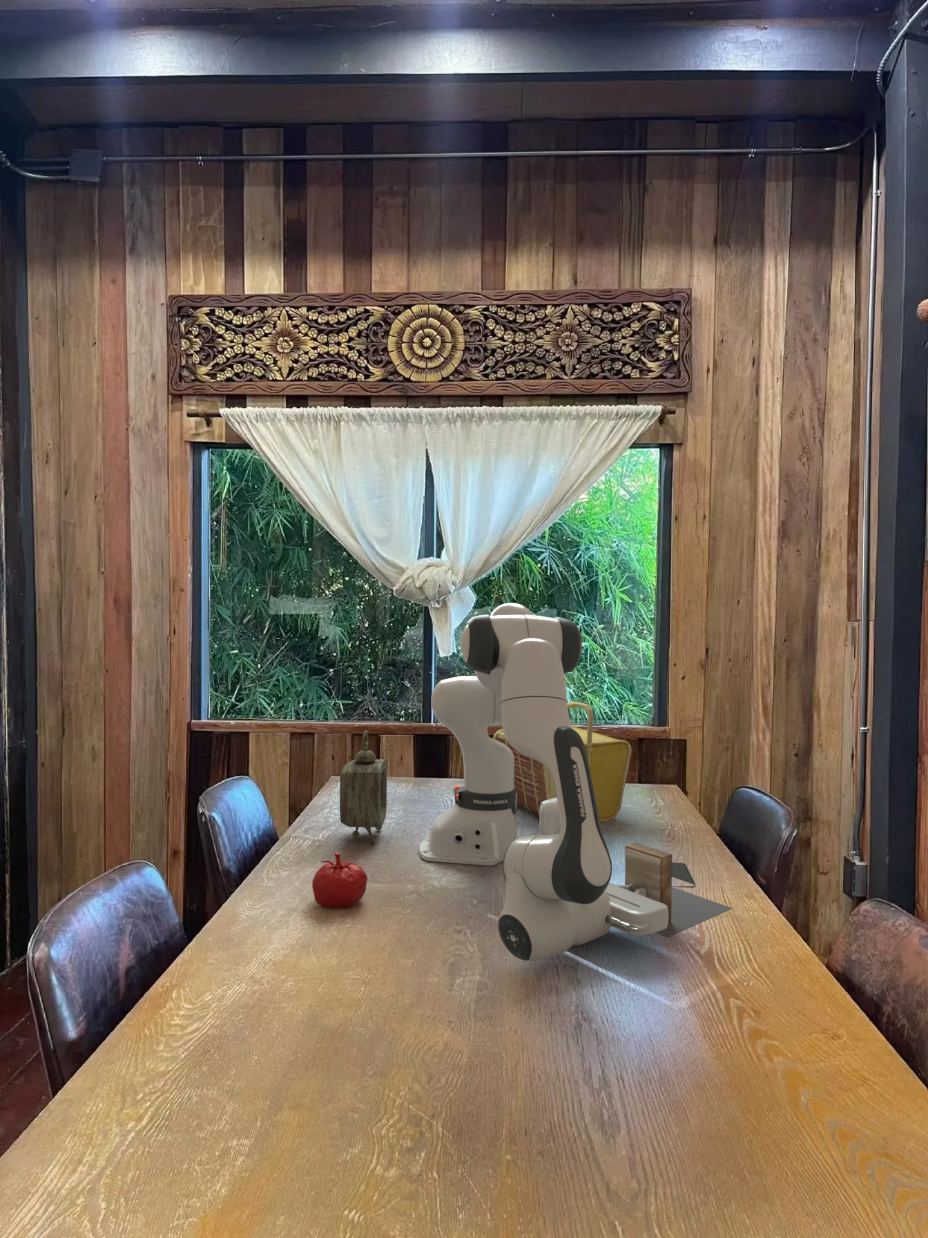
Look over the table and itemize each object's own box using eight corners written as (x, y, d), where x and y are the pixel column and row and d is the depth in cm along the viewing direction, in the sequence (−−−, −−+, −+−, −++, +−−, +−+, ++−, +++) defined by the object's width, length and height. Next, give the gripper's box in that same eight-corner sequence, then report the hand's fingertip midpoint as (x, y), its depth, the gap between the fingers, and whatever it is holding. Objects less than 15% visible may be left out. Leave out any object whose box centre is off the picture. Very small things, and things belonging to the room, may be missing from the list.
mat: (667, 940, 129) (667, 937, 129) (602, 913, 140) (602, 910, 140) (732, 911, 141) (732, 908, 141) (667, 888, 152) (667, 885, 152)
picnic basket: (490, 803, 212) (490, 693, 211) (570, 793, 223) (571, 689, 222) (545, 834, 186) (546, 708, 185) (634, 821, 197) (635, 702, 196)
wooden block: (660, 928, 133) (661, 858, 132) (623, 912, 139) (624, 845, 138) (671, 923, 134) (672, 854, 134) (634, 908, 141) (634, 842, 140)
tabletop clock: (379, 848, 175) (379, 737, 174) (339, 847, 175) (338, 736, 174) (386, 828, 190) (387, 726, 189) (349, 828, 190) (349, 725, 189)
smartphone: (685, 862, 165) (697, 888, 151) (685, 867, 165) (697, 892, 151) (650, 861, 166) (658, 886, 151) (650, 865, 166) (658, 890, 152)
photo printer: (581, 849, 175) (582, 794, 174) (587, 856, 170) (587, 800, 170) (536, 851, 173) (537, 796, 173) (541, 858, 169) (541, 801, 169)
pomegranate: (356, 917, 139) (356, 865, 138) (303, 911, 141) (303, 860, 140) (374, 894, 148) (374, 846, 148) (324, 889, 150) (324, 842, 150)
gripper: (636, 912, 118) (690, 891, 127) (541, 874, 134) (595, 857, 143) (636, 953, 119) (690, 929, 127) (540, 910, 134) (594, 891, 143)
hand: (639, 890), depth 135 cm, fingers closed
